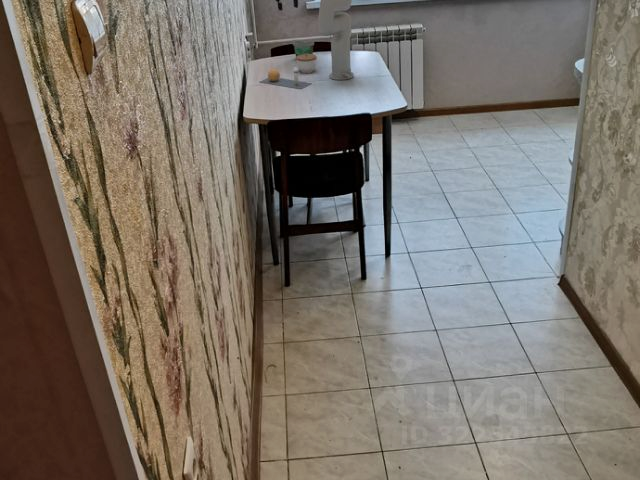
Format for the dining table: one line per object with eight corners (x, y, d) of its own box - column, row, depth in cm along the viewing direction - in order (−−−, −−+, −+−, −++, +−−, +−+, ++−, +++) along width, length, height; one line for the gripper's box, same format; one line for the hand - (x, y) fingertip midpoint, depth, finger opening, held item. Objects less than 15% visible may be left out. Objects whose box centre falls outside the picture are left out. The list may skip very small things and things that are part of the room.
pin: (299, 84, 331) (298, 68, 326) (295, 85, 330) (294, 68, 325) (297, 83, 332) (296, 67, 328) (293, 84, 331) (292, 67, 327)
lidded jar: (314, 74, 345) (314, 56, 341) (294, 74, 347) (293, 56, 343) (319, 68, 354) (318, 50, 350) (299, 68, 356) (298, 50, 352)
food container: (290, 60, 370) (289, 42, 365) (294, 57, 375) (293, 39, 370) (311, 61, 366) (310, 43, 361) (315, 58, 371) (314, 40, 366)
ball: (282, 81, 337) (281, 69, 334) (271, 83, 334) (270, 71, 331) (276, 78, 342) (275, 67, 338) (266, 80, 339) (265, 69, 336)
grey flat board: (259, 82, 337) (258, 81, 337) (270, 76, 345) (270, 76, 344) (300, 89, 325) (300, 88, 324) (312, 83, 332) (312, 83, 331)
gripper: (275, -23, 338) (278, 12, 346) (303, -27, 346) (305, 7, 355) (268, -24, 343) (270, 10, 352) (296, -29, 351) (298, 5, 360)
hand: (288, 8), depth 353 cm, fingers open, 9 cm apart
